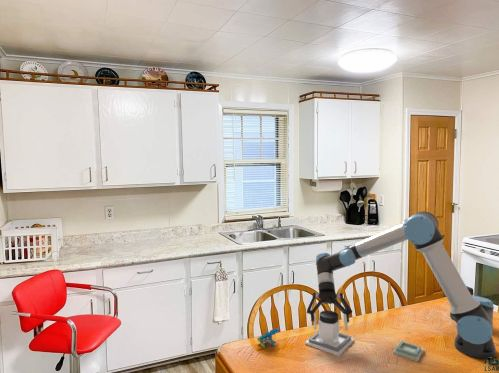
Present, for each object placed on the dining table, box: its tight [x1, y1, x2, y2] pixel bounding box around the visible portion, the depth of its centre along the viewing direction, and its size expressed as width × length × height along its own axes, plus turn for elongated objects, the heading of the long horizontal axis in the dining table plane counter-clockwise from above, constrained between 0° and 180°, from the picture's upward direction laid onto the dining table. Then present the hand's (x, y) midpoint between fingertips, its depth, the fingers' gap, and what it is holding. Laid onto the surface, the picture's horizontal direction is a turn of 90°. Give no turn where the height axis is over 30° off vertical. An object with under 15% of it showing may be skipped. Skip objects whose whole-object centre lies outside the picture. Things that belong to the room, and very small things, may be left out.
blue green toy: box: [256, 327, 280, 349], centre depth 160 cm, size 11×6×10 cm
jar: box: [317, 310, 340, 345], centre depth 162 cm, size 9×8×12 cm
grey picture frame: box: [305, 331, 355, 357], centre depth 162 cm, size 16×16×2 cm
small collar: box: [392, 340, 425, 362], centre depth 154 cm, size 10×10×2 cm
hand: (331, 329), depth 159 cm, fingers open, 13 cm apart
